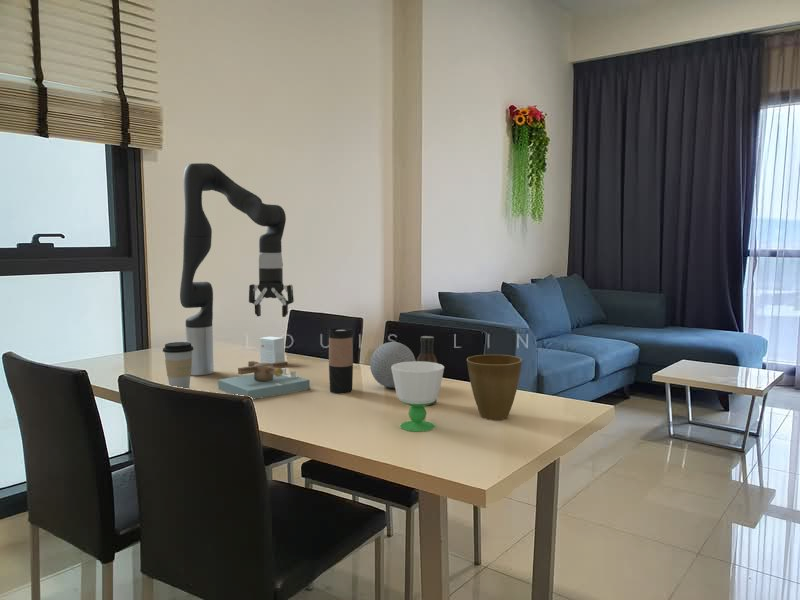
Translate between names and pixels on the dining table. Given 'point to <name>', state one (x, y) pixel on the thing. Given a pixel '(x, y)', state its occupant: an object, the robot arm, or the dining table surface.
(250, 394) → the stand
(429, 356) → the sauce bottle
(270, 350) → the small box
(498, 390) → the plant pot
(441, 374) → the cup
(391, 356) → the decorative ball
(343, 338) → the travel mug
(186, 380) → the coffee cup
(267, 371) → the capstan
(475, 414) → the dining table surface
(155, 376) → the dining table surface
